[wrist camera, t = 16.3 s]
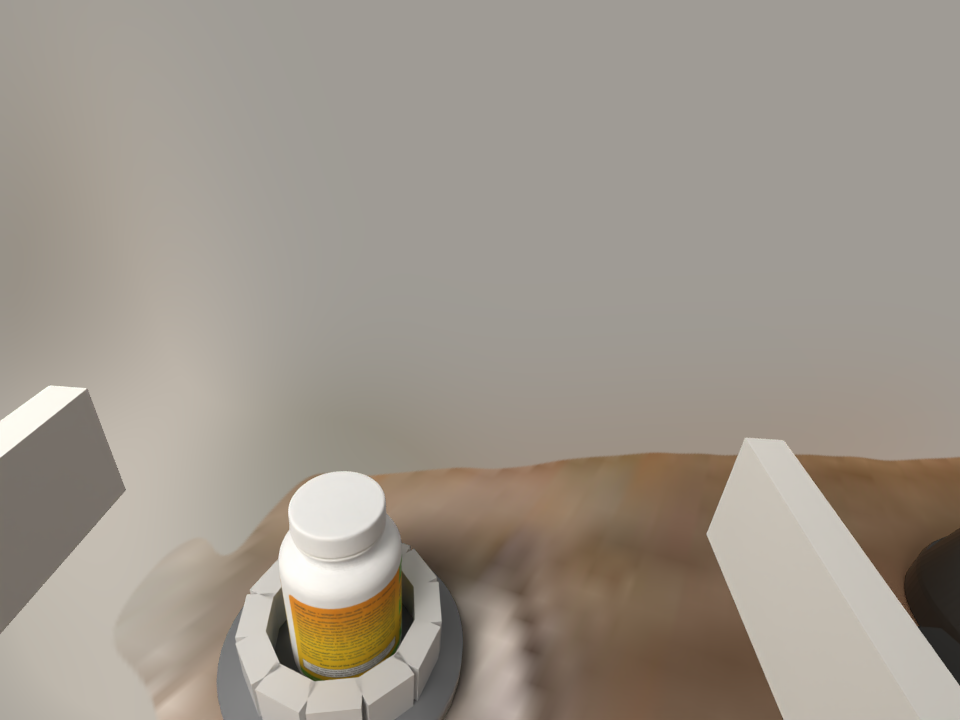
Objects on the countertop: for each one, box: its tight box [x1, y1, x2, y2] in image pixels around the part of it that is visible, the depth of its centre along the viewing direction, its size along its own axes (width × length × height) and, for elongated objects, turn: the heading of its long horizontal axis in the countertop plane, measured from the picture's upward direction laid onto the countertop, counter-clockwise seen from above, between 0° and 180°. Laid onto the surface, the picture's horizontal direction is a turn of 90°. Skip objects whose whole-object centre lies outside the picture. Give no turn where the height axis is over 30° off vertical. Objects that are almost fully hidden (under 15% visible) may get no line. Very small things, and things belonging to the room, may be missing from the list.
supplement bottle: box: [279, 471, 402, 681], centre depth 29 cm, size 6×6×11 cm
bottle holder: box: [217, 542, 463, 720], centre depth 31 cm, size 14×14×4 cm
